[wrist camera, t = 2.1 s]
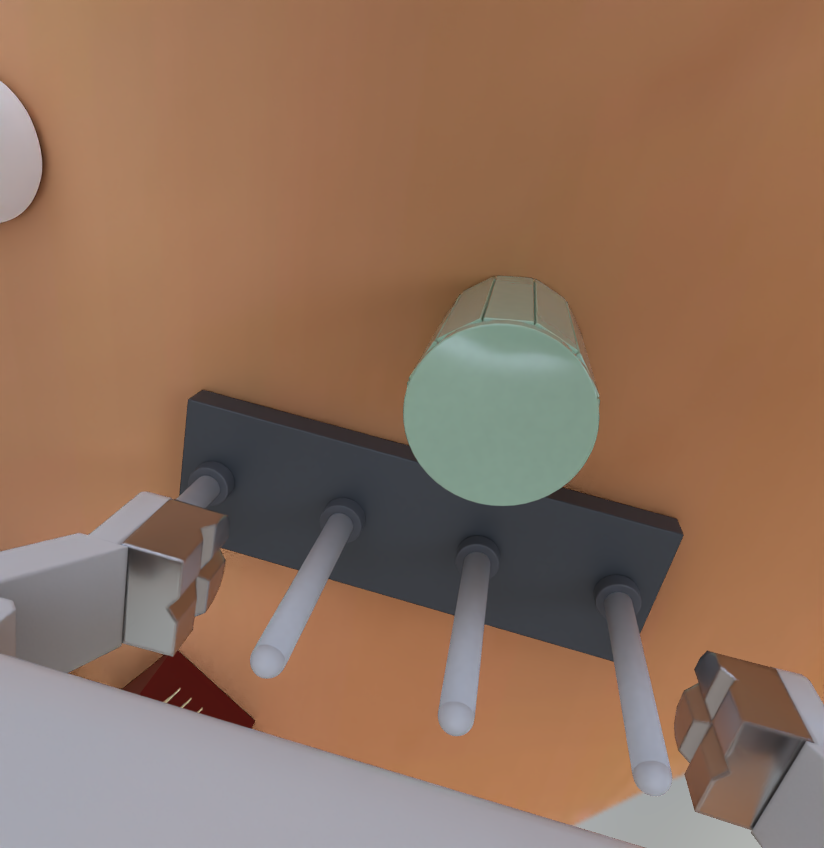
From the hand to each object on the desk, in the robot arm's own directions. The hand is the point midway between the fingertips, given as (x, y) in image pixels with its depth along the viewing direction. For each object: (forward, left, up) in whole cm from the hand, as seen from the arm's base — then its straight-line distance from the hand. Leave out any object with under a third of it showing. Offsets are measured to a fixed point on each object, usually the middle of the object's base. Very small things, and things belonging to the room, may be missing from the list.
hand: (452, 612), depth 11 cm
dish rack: (+7, +6, -19) cm, 21 cm away
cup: (0, 0, -19) cm, 19 cm away
